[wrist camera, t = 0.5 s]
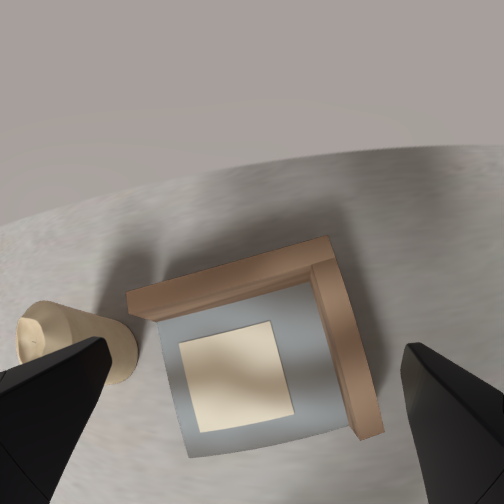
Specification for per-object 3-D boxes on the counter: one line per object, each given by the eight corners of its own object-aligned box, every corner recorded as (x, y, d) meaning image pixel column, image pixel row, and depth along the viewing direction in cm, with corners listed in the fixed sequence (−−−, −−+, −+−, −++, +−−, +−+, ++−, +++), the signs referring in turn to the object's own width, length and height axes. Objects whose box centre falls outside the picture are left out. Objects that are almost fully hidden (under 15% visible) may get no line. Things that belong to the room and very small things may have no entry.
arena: (367, 417, 20) (384, 432, 15) (191, 456, 21) (166, 476, 16) (322, 258, 24) (327, 234, 19) (156, 304, 25) (125, 292, 20)
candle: (78, 334, 25) (-5, 316, 16) (124, 309, 25) (44, 279, 16) (99, 392, 23) (14, 397, 14) (149, 370, 23) (68, 370, 14)
